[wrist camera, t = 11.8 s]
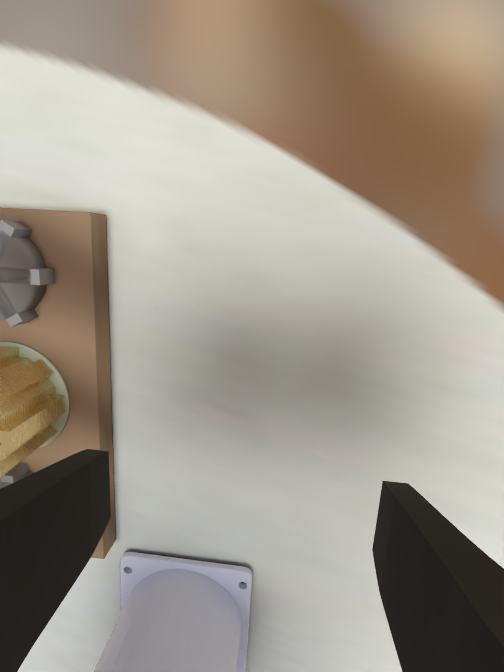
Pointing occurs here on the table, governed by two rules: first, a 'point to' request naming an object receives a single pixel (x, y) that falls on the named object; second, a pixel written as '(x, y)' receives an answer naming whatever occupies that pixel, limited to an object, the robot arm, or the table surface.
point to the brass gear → (25, 407)
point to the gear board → (61, 328)
